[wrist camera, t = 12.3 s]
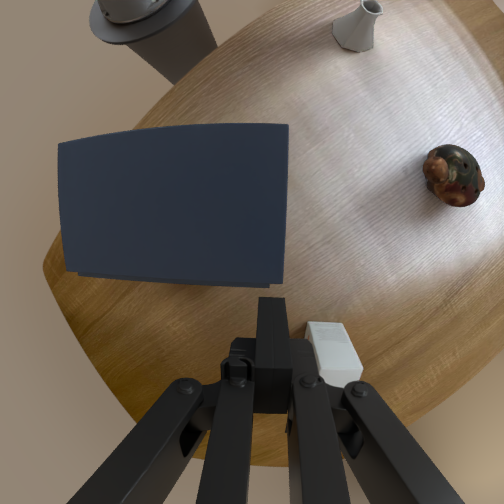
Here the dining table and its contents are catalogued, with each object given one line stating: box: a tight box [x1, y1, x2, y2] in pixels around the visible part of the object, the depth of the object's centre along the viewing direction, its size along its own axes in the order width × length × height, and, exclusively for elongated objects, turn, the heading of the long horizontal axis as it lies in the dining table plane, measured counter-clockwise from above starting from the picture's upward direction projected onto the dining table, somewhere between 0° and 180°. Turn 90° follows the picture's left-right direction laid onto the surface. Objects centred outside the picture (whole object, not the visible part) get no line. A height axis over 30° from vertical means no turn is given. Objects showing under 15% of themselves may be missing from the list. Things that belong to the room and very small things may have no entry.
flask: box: [332, 0, 383, 52], centre depth 28 cm, size 7×7×10 cm
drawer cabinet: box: [58, 123, 289, 288], centre depth 31 cm, size 13×20×21 cm
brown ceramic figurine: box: [423, 144, 485, 207], centre depth 34 cm, size 10×15×8 cm, turn 92°
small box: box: [304, 321, 364, 388], centre depth 41 cm, size 8×6×13 cm
